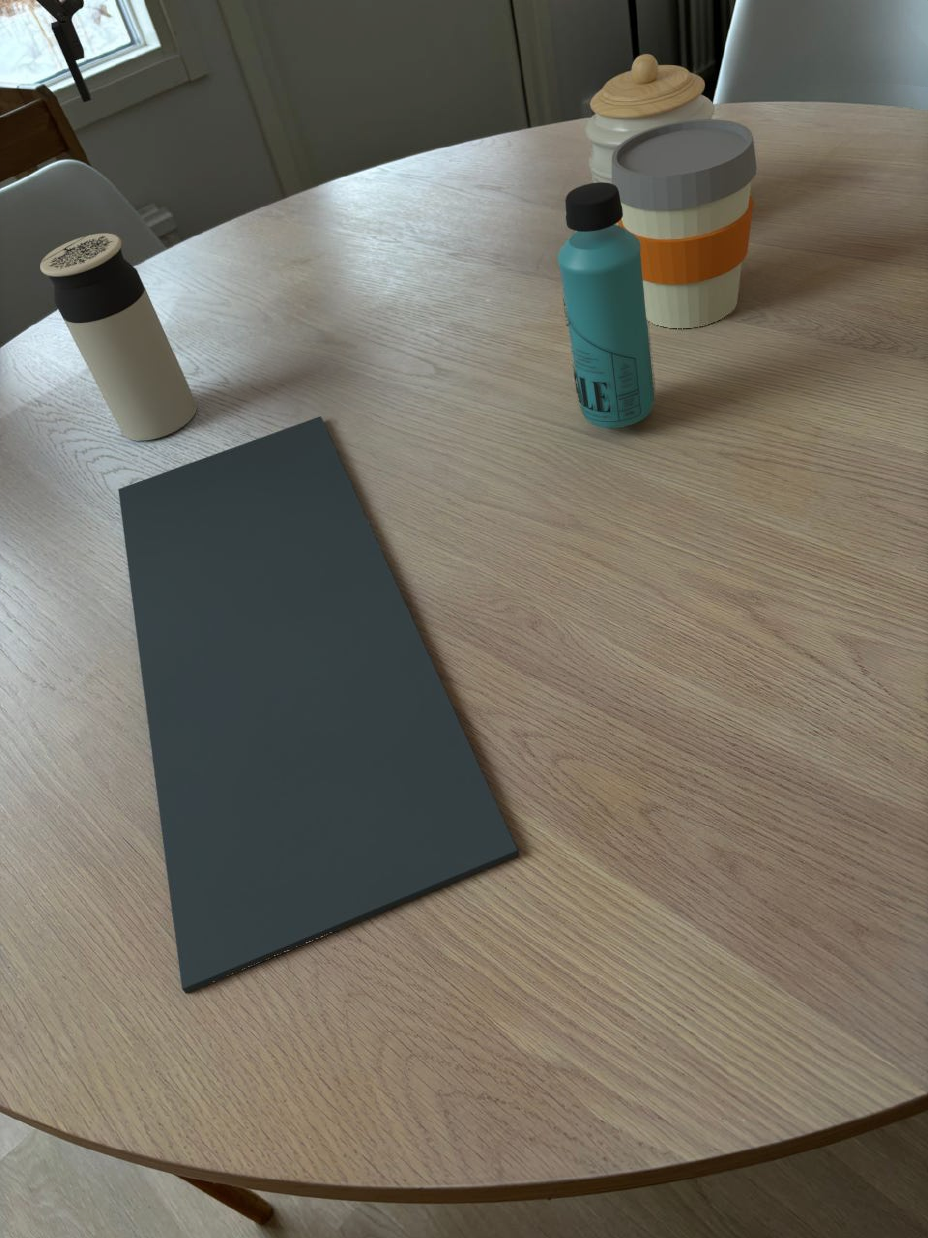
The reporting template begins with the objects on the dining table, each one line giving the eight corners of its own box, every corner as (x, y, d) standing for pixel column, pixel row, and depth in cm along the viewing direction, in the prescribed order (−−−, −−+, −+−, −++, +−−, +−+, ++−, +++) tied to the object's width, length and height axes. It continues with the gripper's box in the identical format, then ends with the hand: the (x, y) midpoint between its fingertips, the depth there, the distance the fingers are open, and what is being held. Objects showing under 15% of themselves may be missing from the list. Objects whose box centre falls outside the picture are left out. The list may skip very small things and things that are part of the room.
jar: (594, 216, 116) (574, 49, 104) (709, 194, 114) (702, 21, 102) (601, 267, 107) (580, 90, 95) (726, 245, 105) (721, 61, 93)
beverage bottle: (667, 403, 87) (649, 168, 73) (644, 449, 83) (620, 209, 69) (595, 398, 90) (565, 171, 76) (569, 442, 86) (533, 210, 72)
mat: (185, 994, 56) (181, 989, 56) (120, 493, 94) (117, 488, 94) (519, 855, 58) (518, 850, 58) (322, 420, 96) (320, 415, 96)
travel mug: (212, 411, 102) (138, 239, 90) (146, 452, 99) (60, 280, 87) (173, 390, 107) (97, 225, 95) (109, 428, 104) (22, 263, 92)
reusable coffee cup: (728, 345, 91) (723, 179, 81) (602, 332, 98) (583, 175, 87) (776, 278, 98) (777, 117, 88) (655, 269, 104) (644, 117, 94)
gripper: (-239, -130, 80) (-78, 160, 95) (34, -208, 82) (148, 87, 97) (-222, -136, 85) (-72, 138, 100) (33, -210, 87) (142, 70, 102)
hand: (36, 113), depth 99 cm, fingers open, 9 cm apart
